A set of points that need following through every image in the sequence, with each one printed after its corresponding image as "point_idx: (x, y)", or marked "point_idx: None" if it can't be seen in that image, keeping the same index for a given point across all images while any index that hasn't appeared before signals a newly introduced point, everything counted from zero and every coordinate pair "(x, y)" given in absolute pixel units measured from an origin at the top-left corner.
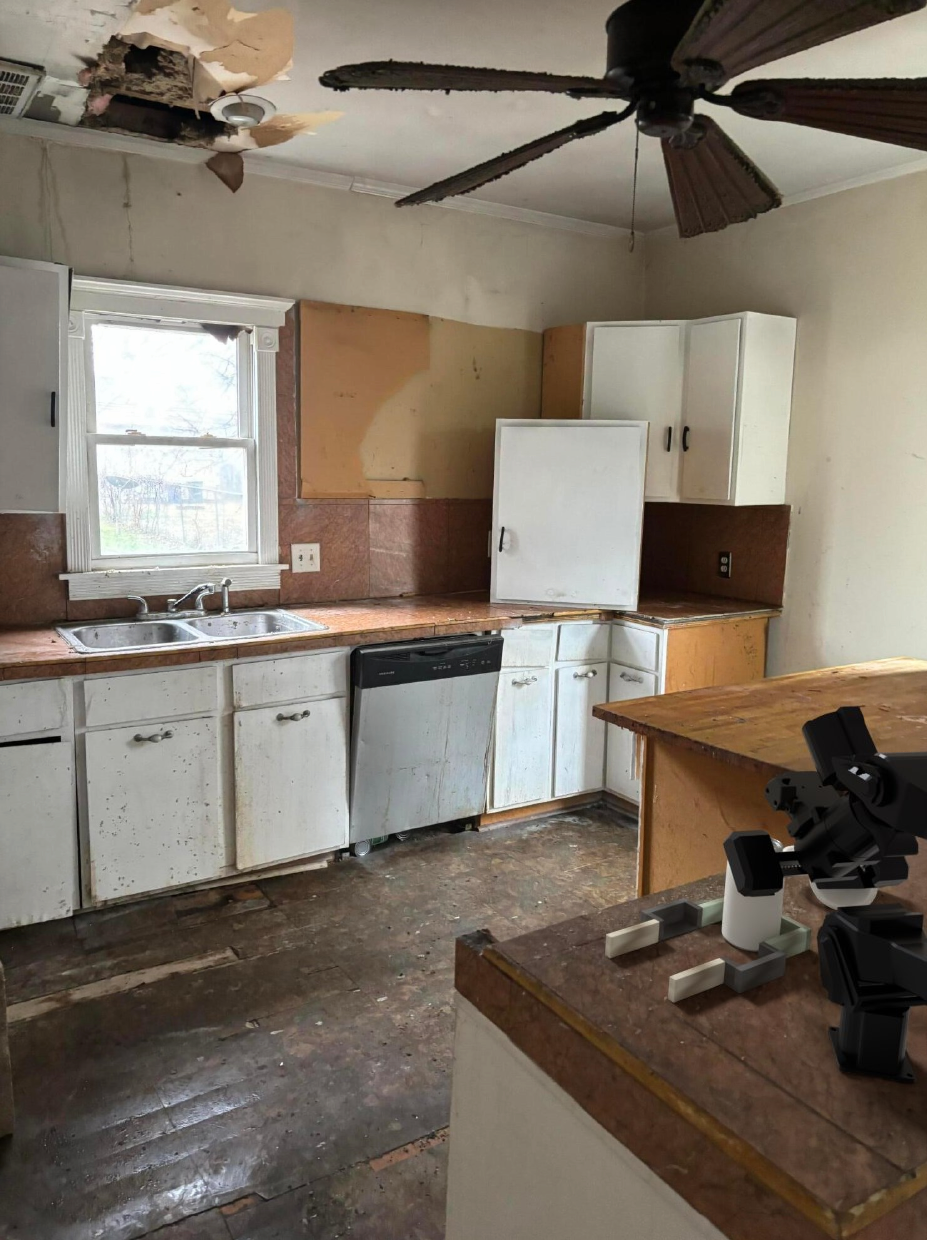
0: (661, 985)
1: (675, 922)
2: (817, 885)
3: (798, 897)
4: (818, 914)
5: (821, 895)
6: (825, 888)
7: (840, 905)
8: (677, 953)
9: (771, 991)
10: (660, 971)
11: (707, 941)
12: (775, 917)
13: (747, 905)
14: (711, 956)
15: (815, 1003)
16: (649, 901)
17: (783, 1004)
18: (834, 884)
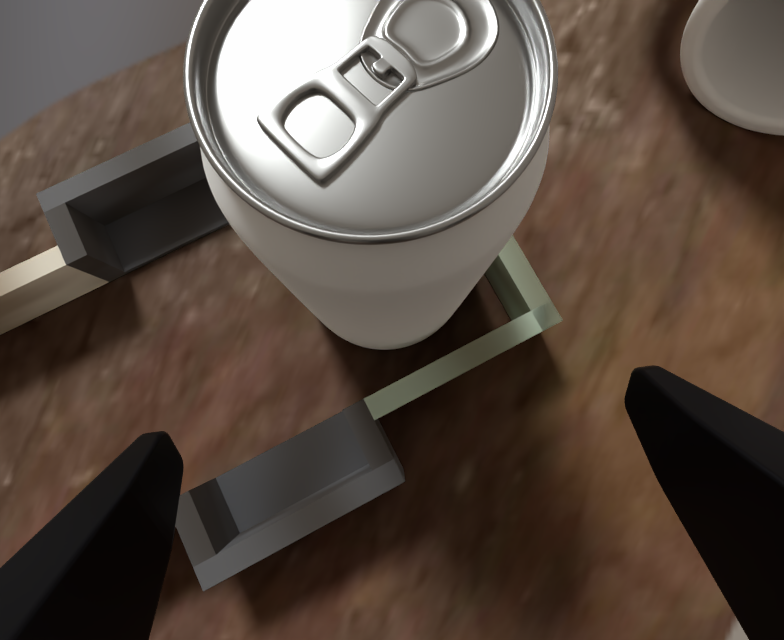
0: (26, 510)
1: (198, 182)
2: (632, 401)
3: (631, 41)
4: (650, 137)
5: (698, 70)
6: (658, 480)
7: (737, 108)
8: (142, 342)
9: (329, 551)
10: (53, 436)
11: (256, 279)
12: (431, 326)
13: (314, 312)
14: (234, 360)
15: (430, 619)
16: (177, 58)
17: (335, 621)
18: (725, 565)
